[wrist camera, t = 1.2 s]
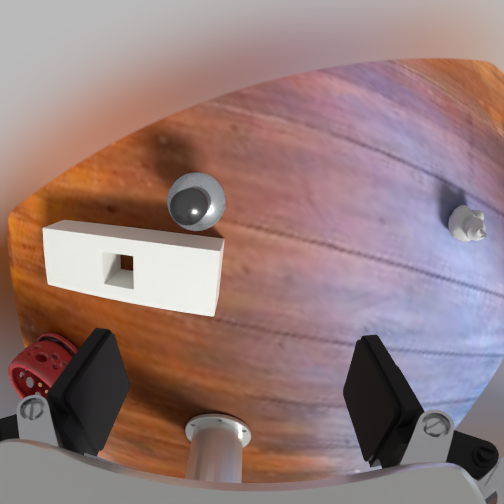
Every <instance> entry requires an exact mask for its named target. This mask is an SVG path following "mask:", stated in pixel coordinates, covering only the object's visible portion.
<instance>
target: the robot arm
mask: <svg viewBox="0 0 504 504" xmlns="http://www.w3.org/2000/svg"><path fill="white" fill-rule="evenodd" d="M128 391H129V381H128V378H127V375H126V371H125V368H124V365H123V362H122V359H121V355H120V352H119V348H118V345H117V341H116V338H115V335H114V334H112V333H111V331H110V330H109V329H101V328H96V329H94V331H93V332H92V333H91V335H90V336H89V337H88V338H87V340H86V341H85V342H84V343H83V345H82V346H81V347H80V349H79V350H78V351H77V353H76V354H75V355H74V357H73V358H72V359H71V361H70V362H69V363H68V365H67V366H66V367H65V369H64V370H63V371H62V373H61V374H60V375H59V377H58V378H57V380H56V381H55V382H54V384H53V385H52V387H51V388H50V390H49V391H48V392H47V395H48V396H47V398H46V399H45V398H44V397H42V396H39V395H30V396H28V397H25V398H24V399H23V400H22V401H21V402H20V403H19V405H18V407H17V414H15V415H12V416H9V417H5V418H2V419H0V504H504V457H502V458H501V459H499V458H498V456H499V454H498V451H497V449H496V447H495V446H494V445H493V444H492V443H490V442H488V441H485V440H482V439H479V438H476V437H473V436H470V435H467V434H464V433H461V432H458V431H455V430H454V423H453V420H452V418H451V417H450V416H449V415H448V414H447V413H445V412H443V411H440V410H428V411H426V412H424V410H423V408H422V406H421V405H420V403H419V401H418V399H417V398H416V396H415V394H414V392H413V391H412V389H411V387H410V386H409V384H408V382H407V380H406V379H405V377H404V375H403V374H402V372H401V370H400V369H399V367H398V366H397V365H396V364H395V363H394V361H393V359H392V358H391V356H390V354H389V353H388V351H387V350H386V348H385V346H384V345H383V343H382V342H381V340H380V338H379V337H378V336H377V335H367V336H362V337H361V340H358V341H357V343H356V346H355V350H354V354H353V358H352V361H351V365H350V368H349V372H348V375H347V379H346V382H345V385H344V389H343V396H344V399H345V402H346V405H347V408H348V411H349V414H350V417H351V420H352V423H353V426H354V429H355V433H356V436H357V439H358V442H359V445H360V448H361V452H362V455H363V458H364V460H365V461H369V464H370V467H375V466H379V465H381V466H382V469H379V470H374V471H369V472H364V473H359V474H354V475H348V476H341V477H335V478H328V479H320V480H311V481H300V482H286V483H242V448H243V447H245V446H246V445H247V444H248V443H249V442H250V439H251V431H250V429H249V427H248V426H247V425H246V424H245V423H244V422H242V421H241V420H239V419H237V418H234V417H232V416H228V415H223V414H203V415H198V416H196V417H193V418H192V419H190V420H189V421H188V423H187V424H186V428H185V433H186V436H187V437H188V439H189V440H190V441H191V447H190V452H189V458H188V463H187V469H186V475H185V479H183V478H176V477H169V476H163V475H158V474H152V473H147V472H143V471H138V470H134V469H129V468H125V467H121V466H118V465H114V464H110V463H107V462H103V461H100V460H97V459H93V458H90V457H87V456H84V453H88V454H91V455H94V456H97V454H98V452H99V450H100V451H101V450H103V448H104V446H105V443H106V441H107V438H108V436H109V434H110V431H111V429H112V427H113V424H114V422H115V420H116V417H117V415H118V413H119V411H120V408H121V406H122V404H123V402H124V399H125V397H126V395H127V393H128Z"/></svg>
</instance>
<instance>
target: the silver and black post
mask: <svg viewBox="0 0 504 504" xmlns="http://www.w3.org/2000/svg"><path fill="white" fill-rule="evenodd" d="M167 204H168V210H169V212H170V215H171V217H172V218H173V220H174V221H175V222H176V223H177V224H178V225H180V226H181V227H183V228H185V229H187V230H191V231H202V230H205V229H208V228H210V227H212V226H213V225H215V224H216V223H217V222H218V221H219V219H220V218H221V216H222V214H223V212H224V210H225V206H226V195H225V192H224V189H223V187H222V185H221V184H220V183H219V181H218V180H217V179H215V178H214V177H213V176H211V175H209V174H206V173H201V172H195V173H189V174H186V175H183V176H182V177H180V178H179V179H177V180H176V181H175V182H174V184H173V185H172V187H171V188H170V191H169V194H168V199H167Z"/></svg>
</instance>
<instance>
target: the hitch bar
mask: <svg viewBox="0 0 504 504" xmlns="http://www.w3.org/2000/svg"><path fill="white" fill-rule="evenodd" d="M224 240H225V239H223V238H215V237H207V236H199V235H191V234H183V233H175V232H166V231H158V230H150V229H141V228H133V227H124V226H116V225H107V224H99V223H90V222H81V221H72V220H62V221H59V222H57V223H54V224H52V225H49V226H46V227H44V228H43V243H44V255H45V265H46V273H47V281H48V284H49V285H53V286H57V287H61V288H65V289H69V290H73V291H77V292H81V293H86V294H90V295H95V296H99V297H104V298H109V299H114V300H119V301H124V302H129V303H134V304H139V305H145V306H150V307H156V308H162V309H167V310H174V311H180V312H186V313H193V314H200V315H206V316H214V314H215V309H216V305H217V301H218V297H219V287H220V277H221V267H222V258H223V249H224ZM121 254H122V255H129V256H133V271H130V270H124V269H121Z"/></svg>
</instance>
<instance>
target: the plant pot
mask: <svg viewBox="0 0 504 504" xmlns="http://www.w3.org/2000/svg"><path fill="white" fill-rule="evenodd" d="M77 351H78V349H77V348H76V347H75V346H74V345H73V344H72V343H71V342H69V341H68V340H67V339H65V338H64V337H62V336H60V335H58V334H55V333H45V334H42V335H41V336H39V338H38V339H37V343H34V344H32V345H30V346H28V347H27V348H26V349H24V350H23V351H22V352H21V353H20V354H19V355H18V356H17V357H16V358H15V359H14V360H13V361H12V363H11V364H10V366H9V369H8V374H9V378H10V381H11V383H12V385H13V387H14V388H15V390H16V391H17V392H18V394H19V395H20V397H21V398H22V399H24V398H25V397H28V396H30V395H35V392H39V393H40V394H41V396H42V397H44V398H45V399H46V398H47V396H48V395H47V394H46V393H45V390H48V391H49V390H50V388H51V387H52V385H53V384H54V382H55V381H56V380H57V378H58V377H59V375H60V374H61V373H62V371H63V370H64V369H65V367H66V366H67V365H68V363H69V362H70V361H71V359H72V358H73V357H74V355H75V354H76V353H77ZM25 369H26V370H27V371H25ZM20 372H23V376H22V377H21V378H20V376H19V374H20ZM27 377H31V378H32V379H33V382H34V385H33V387H32V388H29V387H28V386H27V385H26V379H27ZM39 382H40V383H41V384H42V387H39V386H38V383H39Z"/></svg>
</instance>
